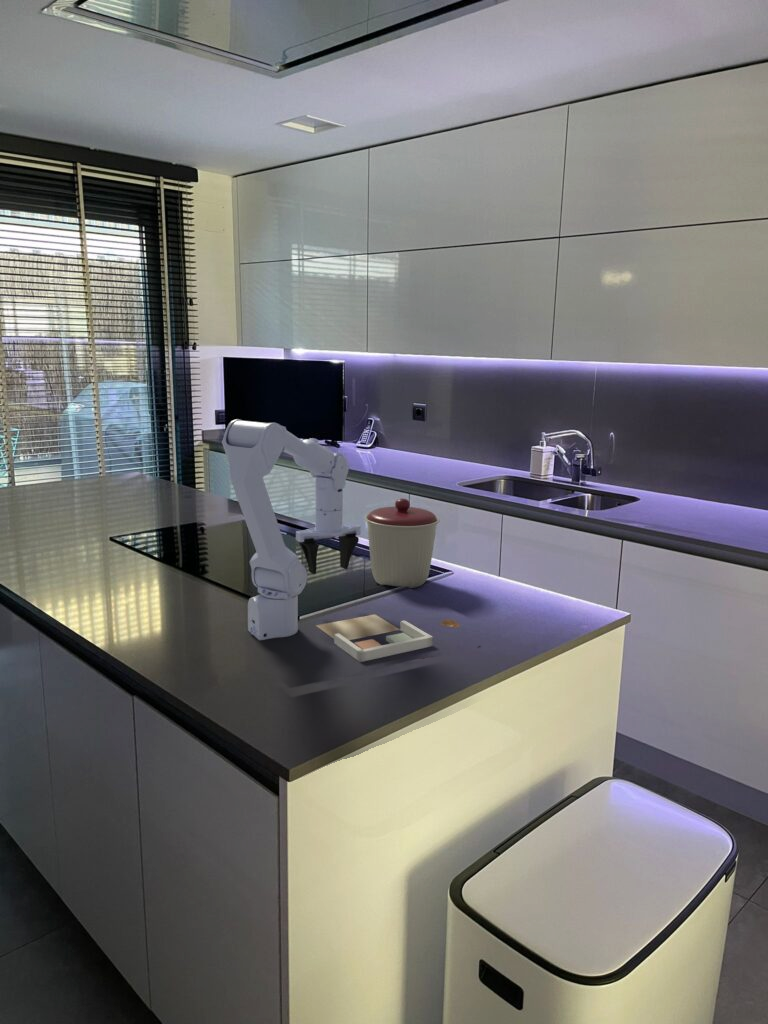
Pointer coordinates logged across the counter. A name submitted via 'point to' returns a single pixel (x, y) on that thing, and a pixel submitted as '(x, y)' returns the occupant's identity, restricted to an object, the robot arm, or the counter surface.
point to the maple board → (358, 627)
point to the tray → (361, 655)
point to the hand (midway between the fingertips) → (328, 570)
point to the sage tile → (397, 638)
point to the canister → (401, 544)
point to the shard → (450, 623)
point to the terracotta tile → (367, 644)
